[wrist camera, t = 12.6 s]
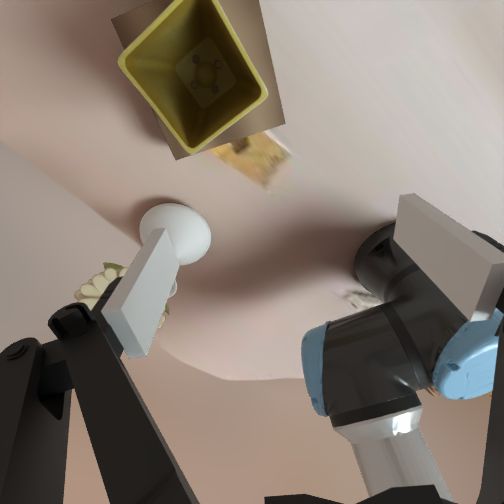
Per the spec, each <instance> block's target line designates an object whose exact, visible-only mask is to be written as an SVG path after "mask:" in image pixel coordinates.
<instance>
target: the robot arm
mask: <svg viewBox="0 0 504 504" xmlns="http://www.w3.org/2000/svg"><path fill="white" fill-rule="evenodd" d="M354 268H355V273H356V275H357V277H358V279H359V281H360V283H361V284H362V285H363V287H364V288H365V289H366V290H368V291H369V292H371V293H372V294H374V295H375V296H376V297H377V298H378V299H380V300H381V301H382V302H383V303H384V304H381V305H378V306H375V307H372V308H369V309H367V310H364V311H361V312H358V313H355V314H352V315H349V316H346V317H343V318H341V319H338V320H335V321H332V322H331V321H328V322H326V323H325V324H324V325H321V326H319V327H316V328H314V329H311V330H309V331H308V332H307V333H306V334H305V335H304V337H303V339H302V346H301V357H302V366H303V372H304V378H305V382H306V387H307V390H308V394H309V396H310V397H311V401H312V405H313V407H314V409H315V411H316V412H317V413H318V415H321V416H324V417H327V416H329V417H330V419H331V423H332V426H333V429H334V430H335V431H336V432H337V433H339V434H340V435H342V436H343V437H345V438H346V439H347V440H348V441H349V442H350V443H351V446H352V449H353V451H354V454H355V457H356V460H357V463H358V466H359V469H360V472H361V474H362V477H363V480H364V483H365V486H366V489H367V492H368V495H369V498H367V499H365V500H363V501H361V502H359V503H357V504H457V503H454V500H453V498H452V496H451V494H450V492H449V490H448V488H447V486H446V484H445V482H444V479H443V477H442V475H441V473H440V471H439V469H438V467H437V465H436V462H435V460H434V458H433V456H432V454H431V452H430V450H429V448H428V446H427V444H426V441H425V439H424V437H423V435H422V433H421V431H420V429H419V427H418V425H419V418H420V416H421V412H422V409H423V406H422V404H421V402H420V400H419V398H418V396H417V394H416V391H418V390H421V389H425V388H428V387H432V386H434V388H435V389H436V391H438V392H439V393H441V394H442V395H443V396H444V397H446V398H449V399H454V400H456V399H458V398H459V399H470V398H474V397H477V396H480V395H483V394H486V393H488V392H490V391H492V390H493V391H492V400H491V408H490V416H489V425H488V433H487V442H486V450H485V459H484V467H483V476H482V484H481V490H480V494H479V497H478V500H477V503H476V504H504V246H503V245H502V244H500V243H497V241H495V240H494V239H492V238H491V237H489V236H488V235H485V234H482V233H479V232H477V231H470V230H469V229H467V228H466V227H464V226H463V225H461V224H460V223H458V222H456V221H455V220H453V219H452V218H450V217H449V216H447V215H446V214H444V213H443V212H441V211H440V210H438V209H437V208H435V207H434V206H432V205H431V204H429V203H428V202H426V201H425V200H423V199H422V198H420V197H419V196H417V195H416V194H414V193H413V194H406V195H400V197H399V204H398V211H397V218H396V223H395V224H392V225H389V226H387V227H384V228H382V229H381V230H379V231H377V232H376V233H374V234H373V235H372V236H370V237H369V238H368V239H367V240H366V241H365V242H364V244H363V245H362V246H361V248H360V249H359V251H358V253H357V255H356V258H355V263H354ZM178 269H179V264H178V261H177V258H176V255H175V252H174V249H173V246H172V243H171V241H170V238H169V235H168V232H167V229H166V228H160V229H153V230H152V232H151V234H150V235H149V237H148V238H147V240H146V241H145V243H144V245H143V246H142V248H141V249H140V251H139V252H138V254H137V256H136V257H135V259H134V260H133V262H132V263H131V265H130V267H129V268H128V270H127V271H126V273H125V274H124V276H122V277H117V278H116V279H115V280H113V281H112V282H111V283H110V284H109V285H108V286H107V288H106V289H105V291H104V293H103V294H102V295H101V297H100V299H99V300H98V301H97V303H96V304H95V305H94V307H93V308H92V310H91V311H90V309H89V308H88V306H87V305H86V304H85V303H82V302H77V303H72V304H70V305H67V306H65V307H63V308H61V309H60V310H58V311H57V312H55V313H54V314H53V315H52V316H51V318H50V319H49V320H48V326H49V327H50V329H51V330H52V331H53V333H54V334H55V335H56V337H57V338H58V339H57V340H54V341H51V342H48V343H45V344H42V345H41V344H40V343H39V341H38V340H37V339H35V338H25V339H21V340H19V341H17V342H15V343H13V344H11V345H10V346H8V347H7V348H6V349H5V350H3V352H1V353H0V504H63V497H64V484H65V470H66V458H67V443H68V431H69V419H70V418H69V417H70V406H71V393H72V389H73V388H74V389H75V392H76V395H77V399H78V401H79V405H80V408H81V411H82V415H83V418H84V421H85V424H86V428H87V431H88V434H89V437H90V440H91V444H92V447H93V450H94V453H95V457H96V460H97V463H98V466H99V469H100V472H101V476H102V479H103V482H104V485H105V489H106V492H107V495H108V498H109V502H110V504H200V503H199V502H198V500H197V498H196V496H195V494H194V492H193V491H192V489H191V487H190V485H189V483H188V481H187V480H186V478H185V476H184V474H183V472H182V470H181V469H180V467H179V465H178V463H177V461H176V460H175V458H174V456H173V454H172V453H171V450H170V449H169V447H168V445H167V443H166V441H165V439H164V437H163V436H162V434H161V432H160V430H159V428H158V427H157V425H156V423H155V421H154V419H153V417H152V416H151V414H150V412H149V410H148V408H147V406H146V405H145V403H144V401H143V399H142V397H141V395H140V394H139V392H138V390H137V388H136V386H135V384H134V383H133V381H132V379H131V377H130V376H129V373H128V372H127V370H126V368H125V366H124V364H123V363H122V361H121V359H120V356H121V354H122V352H123V350H124V351H125V353H126V355H127V356H128V358H129V359H131V358H140V357H147V354H148V351H149V349H150V346H151V343H152V340H153V338H154V335H155V332H156V329H157V327H158V324H159V321H160V319H161V316H162V313H163V310H164V308H165V305H166V302H167V299H168V297H169V294H170V291H171V288H172V286H173V283H174V280H175V278H176V275H177V272H178ZM264 498H265V504H342V503H339V502H335V501H331V500H327V499H323V498H319V497H315V496H311V495H307V494H297V495H283V496H270V497H264Z"/></svg>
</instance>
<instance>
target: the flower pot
mask: <svg viewBox="0 0 504 504" xmlns="http://www.w3.org/2000/svg"><path fill="white" fill-rule="evenodd" d="M195 56H197V57H198V58H199V61H198V62H197V63H195V62H194V60H193V58H194V57H195ZM217 61H219V62H220V63H221V66H220V67H219V68H217V67H216V62H217ZM117 64H118V66H119V67H120V69H121V70H122V71H123V73H124V74H125V75H126V76H127V78H128V79H129V80H130V81H131V82H132V84H133V85H134V86H135V87H136V88H137V90H138V91H139V92H140V93H141V94H142V96H143V97H144V98H145V99H146V100H147V102H148V103H149V104H150V105H151V107H152V108H153V109H154V110H155V112H156V113H157V114H158V115H159V117H160V118H161V119H162V121H163V122H164V123H165V125H166V126H167V127H168V128H169V130H170V131H171V132H172V134H173V135H174V136H175V138H176V139H177V140H178V142H179V143H180V144H181V146H182V147H183V148H184V149H185V150H186V152H188V153H189V154H190V155H193V154H195V153H196V152H198V151H199V150H200V149H201V148H203V147H204V146H205V145H206V144H208V143H209V142H210V141H212V140H213V139H214V138H216V137H217V136H218V135H219V134H221V133H222V132H223V131H225V130H226V129H227V128H229V127H230V126H231V125H233V124H234V123H235V122H237V121H238V120H239V119H240V118H242V117H243V116H244V115H246V114H247V113H249V112H250V111H251V110H252V109H254V108H255V107H256V106H258V105H259V104H261V103H262V102H263V101H264V100H265V99H266V98H267V97H268V90H267V88H266V86H265V84H264V82H263V81H262V79H261V77H260V76H259V74H258V72H257V70H256V69H255V67H254V65H253V63H252V62H251V60H250V58H249V56H248V54H247V53H246V51H245V49H244V47H243V45H242V44H241V42H240V40H239V38H238V36H237V34H236V33H235V31H234V29H233V27H232V25H231V24H230V22H229V20H228V18H227V16H226V14H225V13H224V11H223V9H222V7H221V5H220V3H219V1H218V0H174V1H173V2H172V3H171V4H170V5H169V6H168V7H167V8H166V9H165V10H164V11H163V12H162V13H161V14H160V15H159V16H158V17H157V18H156V19H155V20H154V21H153V22H152V23H151V24H150V25H149V26H148V27H147V28H146V29H145V30H144V31H143V32H142V33H141V34H140V35H139V36H138V37H137V38H136V39H135V40H134V41H133V42H132V43H131V44H130V45H129V46H128V47H127V48H126V49H125V50H124V51H123V52H122V53H121V54H120V56H119V57H118V60H117ZM192 82H196V83H197V87H196V88H194V87H192ZM215 86H216V87H217V88H218V92H214V91H213V87H215Z"/></svg>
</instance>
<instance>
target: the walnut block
mask: <svg viewBox="0 0 504 504" xmlns="http://www.w3.org/2000/svg"><path fill="white" fill-rule="evenodd" d="M173 1H174V0H155V1H153V2H150V3H148V4H146V5H143V6H141V7H139V8H136V9H134V10H132V11H129V12H127V13H125V14H122V15H120V16H118V17H115V18H113V19H111V21H112V23H113V25H114V27H115V29H116V31H117V34H118V36H119V38H120V40H121V42H122V45H123V47H124V49H126V48H127V47H128V46H129V45H130V44H131V43H132V42H133V41H134V40H135V39H136V38H137V37H138V36H139V35H140V34H141V33H142V32H143V31H144V30H145V29H146V28H147V27H148V26H149V25H150V24H151V23H152V22H153V21H154V20H155V19H156V18H157V17H158V16H159V15H160V14H161V13H162V12H163V11H164V10H165V9H166V8H167V7H168V6H169V5H170V4H171V3H172V2H173ZM218 1H219V3H220V5H221V7H222V9H223V11H224V13H225V14H226V16H227V18H228V20H229V22H230V24H231V25H232V27H233V29H234V31H235V33H236V34H237V36H238V38H239V40H240V42H241V44H242V45H243V47H244V49H245V51H246V53H247V54H248V56H249V58H250V60H251V62H252V63H253V65H254V67H255V69H256V70H257V72H258V74H259V76H260V77H261V79H262V81H263V82H264V84H265V86H266V88H267V90H268V97H267V98H266V99H265V100H264V101H263V102H262V103H261V104H259V105H258V106H256V107H255V108H254V109H252V110H251V111H250V112H249V113H247V114H246V115H244V116H243V117H242V118H240V119H239V120H238V121H237V122H235V123H234V124H233V125H231V126H230V127H229V128H227V129H226V130H225V131H223V132H222V133H221V134H219V135H218V136H217V137H216V138H214V139H213V140H212V141H210V142H209V143H208V144H206V145H205V146H204V147H203V148H201V149H200V150H199V151H198V152H196V153H199V152H202V151H205V150H208V149H211V148H214V147H217V146H220V145H223V144H226V143H229V142H232V141H235V140H238V139H241V138H244V137H247V136H250V135H253V134H256V133H259V132H262V131H265V130H268V129H271V128H274V127H277V126H280V125H283V124H286V123H285V119H284V114H283V109H282V105H281V100H280V96H279V91H278V87H277V82H276V77H275V73H274V68H273V64H272V59H271V54H270V50H269V45H268V41H267V36H266V31H265V27H264V22H263V18H262V13H261V8H260V4H259V0H218ZM193 60H194V62H195V63H197V62H198V61H199V58H198V57H197V56H195V57H194V58H193ZM220 66H221V63H220V62H219V61H217V62H216V67H217V68H219V67H220ZM192 87H194V88H196V87H197V83H196V82H192ZM213 91H214V92H218V88H217V87H216V86H215V87H213ZM150 106H151V105H150ZM151 108H152V107H151ZM152 110H153V112H154V114H155V117H156V119H157V121H158V123H159V125H160V127H161V130H162V132H163V134H164V136H165V138H166V140H167V143H168V145H169V147H170V149H171V151H172V154H173V156H174V158H175V160H178V159H181V158H184V157H187V156H190V154H189V153H188V152H186V150H185V149H184V148H183V147H182V146H181V144H180V143H179V142H178V140H177V139H176V138H175V136H174V135H173V134H172V132H171V131H170V130H169V128H168V127H167V126H166V125H165V123H164V122H163V121H162V119H161V118H160V117H159V115H158V114H157V113H156V112H155V110H154V109H153V108H152ZM196 153H195V154H196Z"/></svg>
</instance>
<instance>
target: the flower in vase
mask: <svg viewBox="0 0 504 504" xmlns="http://www.w3.org/2000/svg"><path fill="white" fill-rule="evenodd" d="M160 228H166V229H167V232H168V235H169V238H170V241H171V243H172V246H173V249H174V252H175V255H176V258H177V261H178V264H179V265H188V264H191V263H194V262H196V261H197V260H199V259H200V258H201V257H203V256H204V255H205V253H206V252H207V251H208V249H209V247H210V244H211V232H210V228H209V226H208V224H207V222H206V221H205V219H204V218H203V217H202V216H201V215H200V214H199V213H198V212H196V211H195V210H193V209H191V208H190V207H187V206H185V205H181V204H176V203H165V204H160V205H157V206H155V207H153V208H151V209H150V210H148V211H147V212H146V213H145V215H144V216H143V217H142V220H141V222H140V227H139V233H140V239H141V242H142V244H143V245H144V243H145V241H146V240H147V238H148V237H149V235H150V234H151V232H152V230H153V229H160ZM103 264H104V268H105V271H104V272H101V273H100V274H97V275H95V276H94V277H93V278H92V279H90V280H89V281H88V283H86V284H83V285H81V287H80V290H78V291H76V292H75V294H74V296H75V298H76V299H77V300H78V302H82V303H85V304H86V305H87V306H88V308H89V309H90V311H91V310H92V308H93V307H94V305H95V304H96V303H97V301H98V300H99V299H100V297H101V295H102V294H103V293H104V291H105V289H106V288H107V286H108V285H109V284H110V283H111V282H112V281H113V280H115V279H116V278H117V277H122V276H124V274H125V273H126V271H127V270H128V268H125V267H123V266H120V265H117V264H113V263H103ZM176 290H177V283H176V280H174V283H173V286H172V288H171V291H170V294H169V297H171V296H173V295H174V294H175V292H176ZM169 297H168V298H169ZM164 311H166V312H167V313H168V314H169V308H168V305H167V303H166V305H165V308H164V310H163V312H164ZM164 321H165V317H164V315H162V316H161V319H160V321H159V324H158V327H157V329H159V328H161V326H162V323H163V322H164Z"/></svg>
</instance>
